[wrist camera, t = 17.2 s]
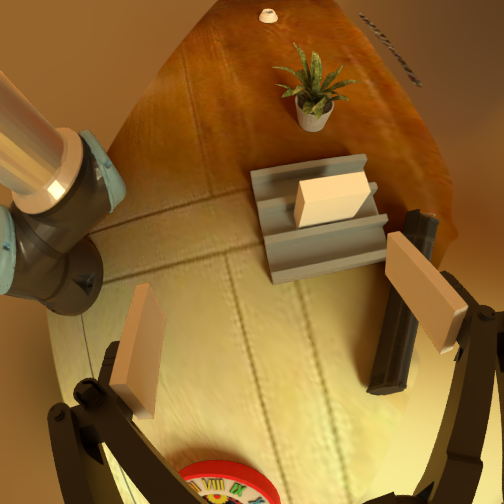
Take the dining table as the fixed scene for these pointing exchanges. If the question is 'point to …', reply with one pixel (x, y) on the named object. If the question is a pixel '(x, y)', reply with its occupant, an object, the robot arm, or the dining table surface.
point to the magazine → (401, 317)
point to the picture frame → (329, 199)
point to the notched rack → (321, 237)
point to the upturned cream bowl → (268, 16)
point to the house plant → (314, 93)
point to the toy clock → (229, 483)
